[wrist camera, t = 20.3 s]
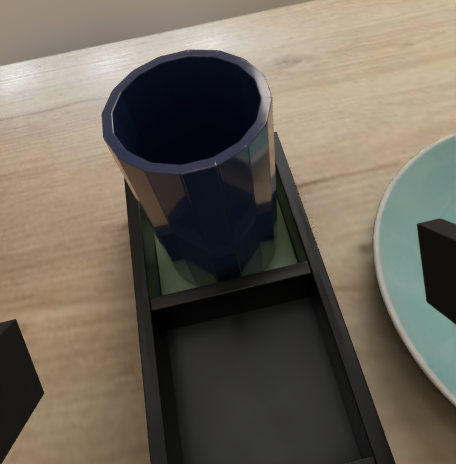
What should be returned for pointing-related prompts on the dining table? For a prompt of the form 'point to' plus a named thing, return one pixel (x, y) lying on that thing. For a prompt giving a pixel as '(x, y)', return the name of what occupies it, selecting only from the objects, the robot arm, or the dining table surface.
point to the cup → (199, 160)
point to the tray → (251, 355)
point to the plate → (418, 258)
